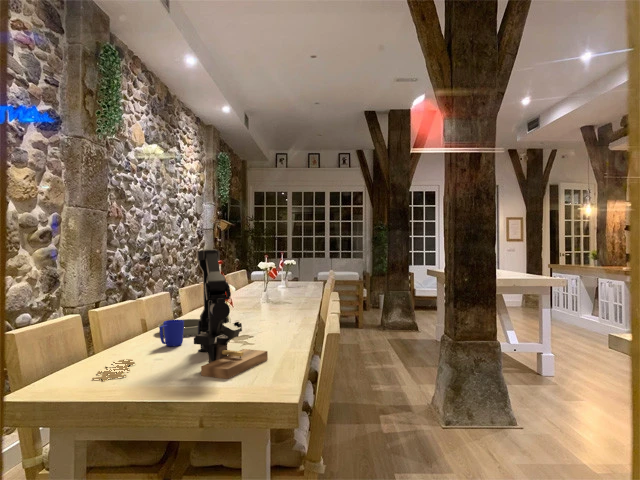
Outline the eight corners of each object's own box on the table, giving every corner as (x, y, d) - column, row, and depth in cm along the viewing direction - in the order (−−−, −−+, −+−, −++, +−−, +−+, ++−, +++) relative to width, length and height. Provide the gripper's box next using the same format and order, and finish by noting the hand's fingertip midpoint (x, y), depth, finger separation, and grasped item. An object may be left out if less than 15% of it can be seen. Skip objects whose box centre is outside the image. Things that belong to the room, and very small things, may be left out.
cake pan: (168, 328, 234) (168, 319, 234) (216, 327, 233) (216, 318, 233) (149, 338, 209) (149, 328, 209) (202, 337, 208) (202, 327, 208)
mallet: (208, 365, 159) (208, 346, 159) (216, 362, 163) (216, 343, 163) (238, 369, 153) (238, 349, 153) (245, 366, 157) (245, 347, 157)
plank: (201, 375, 146) (201, 366, 146) (243, 357, 170) (243, 348, 170) (227, 378, 143) (227, 368, 143) (267, 359, 166) (267, 350, 166)
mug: (152, 348, 186) (152, 323, 186) (172, 342, 197) (172, 319, 197) (169, 350, 183) (168, 325, 183) (188, 343, 194) (188, 320, 194)
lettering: (108, 362, 166) (108, 360, 166) (138, 360, 168) (138, 358, 168) (89, 383, 142) (89, 380, 142) (124, 380, 144) (124, 377, 144)
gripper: (220, 320, 148) (221, 369, 148) (251, 312, 165) (251, 355, 165) (192, 319, 153) (193, 366, 153) (225, 310, 170) (225, 353, 170)
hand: (217, 360), depth 160 cm, fingers closed on mallet, 4 cm apart
